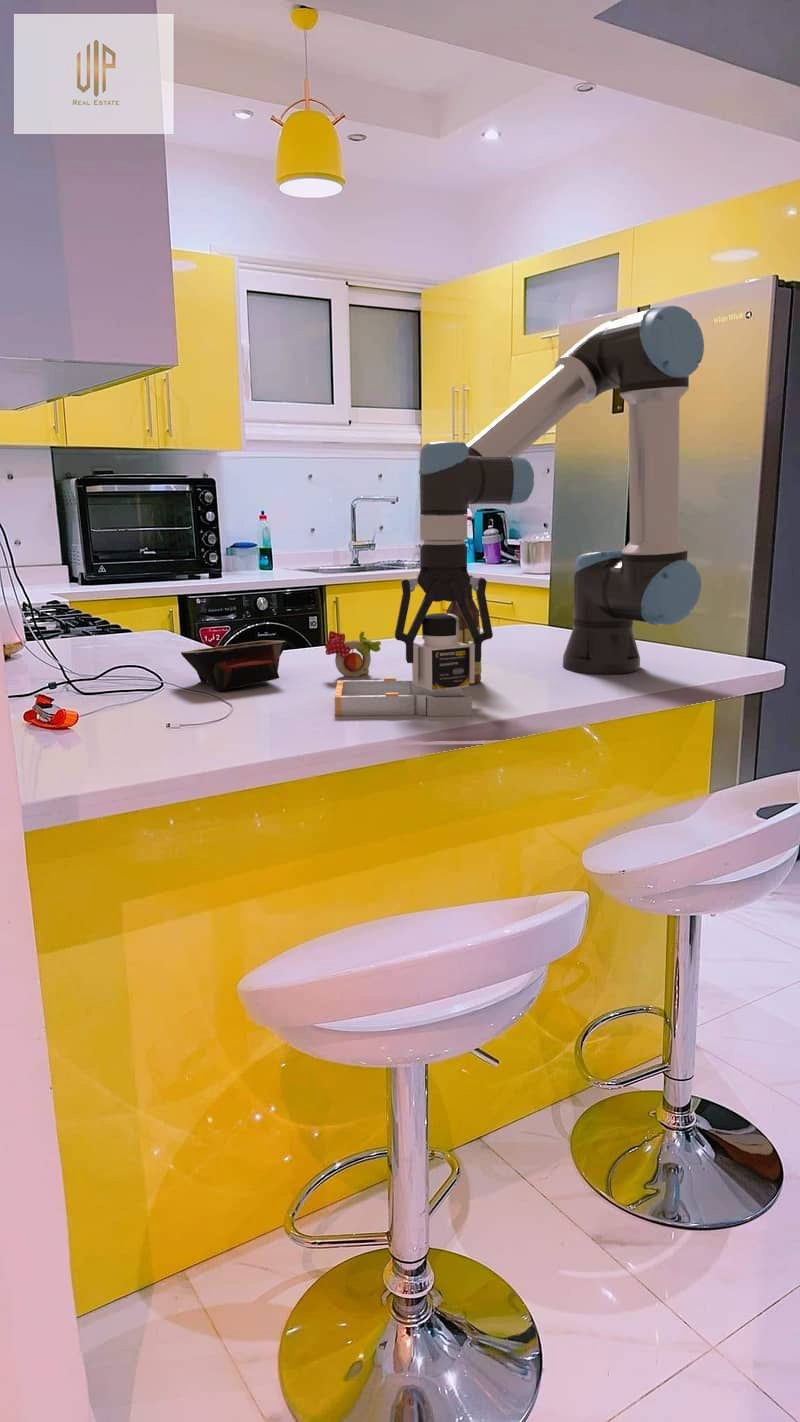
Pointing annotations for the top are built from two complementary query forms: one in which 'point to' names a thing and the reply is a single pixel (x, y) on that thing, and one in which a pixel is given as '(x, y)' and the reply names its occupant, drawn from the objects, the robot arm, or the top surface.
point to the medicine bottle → (442, 654)
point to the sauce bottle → (463, 629)
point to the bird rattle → (351, 661)
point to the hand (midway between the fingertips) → (443, 682)
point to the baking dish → (237, 663)
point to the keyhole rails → (397, 699)
